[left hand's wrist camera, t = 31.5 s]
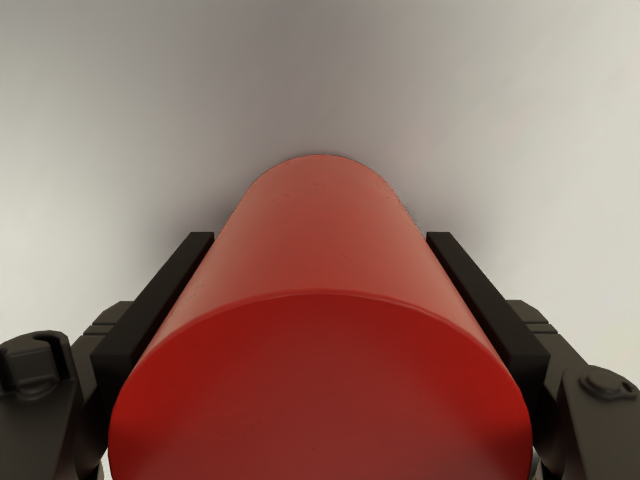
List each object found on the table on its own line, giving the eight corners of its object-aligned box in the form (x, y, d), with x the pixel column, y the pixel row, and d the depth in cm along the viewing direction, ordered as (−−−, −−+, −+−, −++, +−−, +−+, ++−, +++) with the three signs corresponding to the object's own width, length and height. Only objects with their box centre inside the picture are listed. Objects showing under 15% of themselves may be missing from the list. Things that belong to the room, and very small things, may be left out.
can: (210, 284, 17) (69, 550, 8) (267, 124, 15) (168, 213, 5) (363, 338, 18) (412, 635, 9) (439, 196, 16) (628, 384, 6)
